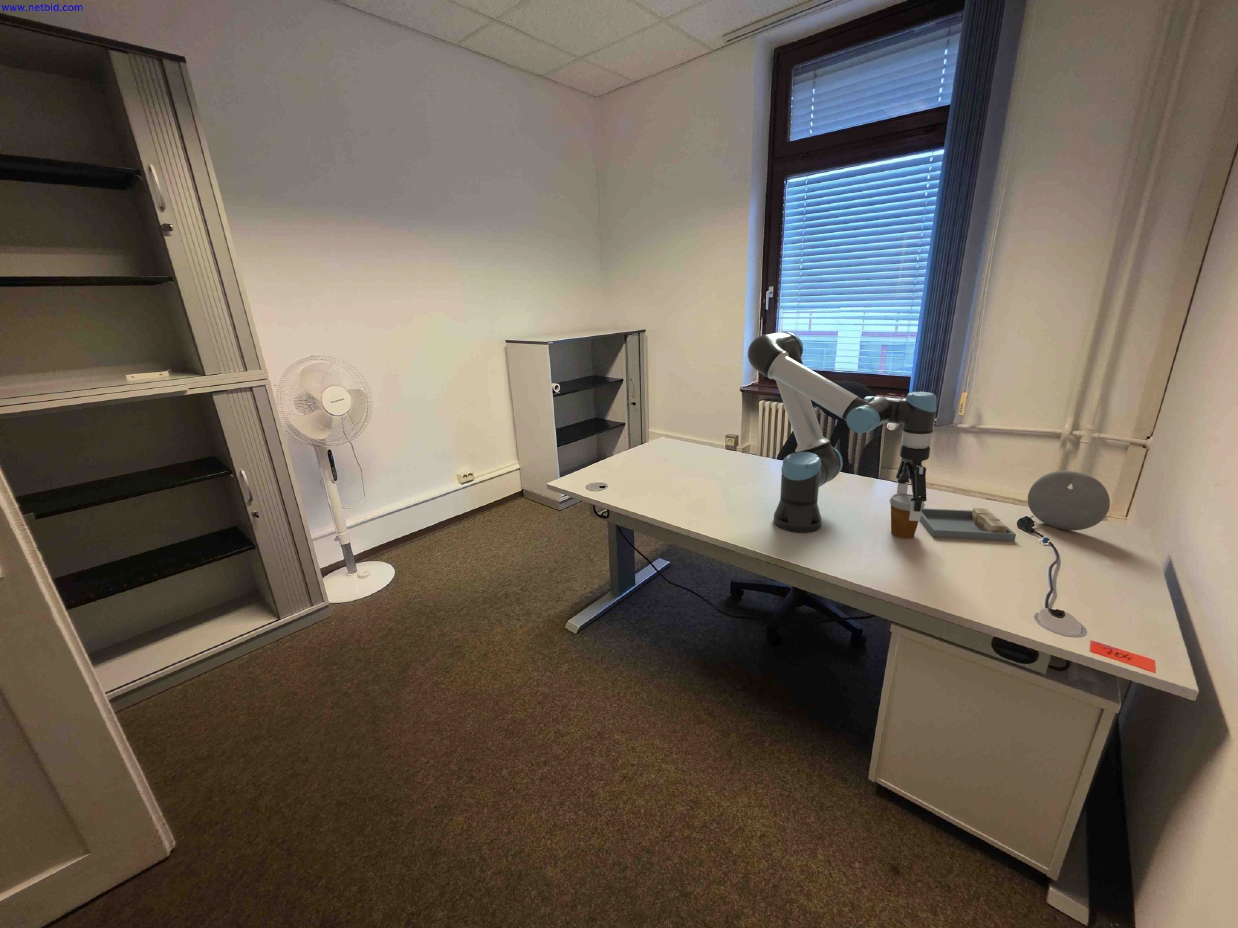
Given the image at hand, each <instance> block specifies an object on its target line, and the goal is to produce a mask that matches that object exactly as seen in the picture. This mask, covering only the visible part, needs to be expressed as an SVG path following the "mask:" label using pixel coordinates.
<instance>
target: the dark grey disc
mask: <svg viewBox="0 0 1238 928" xmlns="http://www.w3.org/2000/svg"><path fill="white" fill-rule="evenodd" d="M1070 485H1071V487H1072V488H1069V486H1070ZM1110 499H1111V498H1110V496H1109V493H1108V490H1107V489H1106V487H1105V486H1104V485H1103V483H1102V482H1100V480H1098V479H1096V478H1095V477H1093V476H1091V475H1089V474H1086V473H1082V472H1078V471H1071V470H1059V471H1057V470H1056V471H1052V472H1048V473H1046V474H1044V475H1043V476H1041V477H1039V478H1038V479H1037V480H1036V481H1034V483H1033V484H1032V485H1031V487H1030V489H1029V491H1028V493H1027V504H1028V508H1029V510H1030V512H1031V514H1033V516H1035V518H1036V519H1038V520H1039V521H1040V522H1042V523H1043V524H1045V525H1047V526H1049V527H1052V528H1055V529H1059V530H1061V531H1062V530H1063V531H1081V530H1087V529H1089V528H1092V527H1095V526H1097V525H1098V524H1099V523H1101V522H1102V521H1103V520H1104V519H1105V518H1106V516H1107V515H1108V512H1109V511H1110V507H1111V506H1110V504H1111V500H1110Z"/></svg>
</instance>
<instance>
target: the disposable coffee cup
mask: <svg viewBox="0 0 1238 928" xmlns="http://www.w3.org/2000/svg"><path fill="white" fill-rule="evenodd" d="M911 498H913V494H912V493H911V494H909V493H907V494H897V493H895V494H893V495H891V497H890V499H889V504H890V533H891V534H892V536H895V537H897V538H900V539H912V538H914V537H915V534H916V531H917V527H918V524H919V522H920V521H910V520H909V516H910V508H911V500H910V499H911ZM925 507H926V504H925V501H923V503H922V509H923V508H925ZM921 513H922V510H921Z"/></svg>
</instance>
